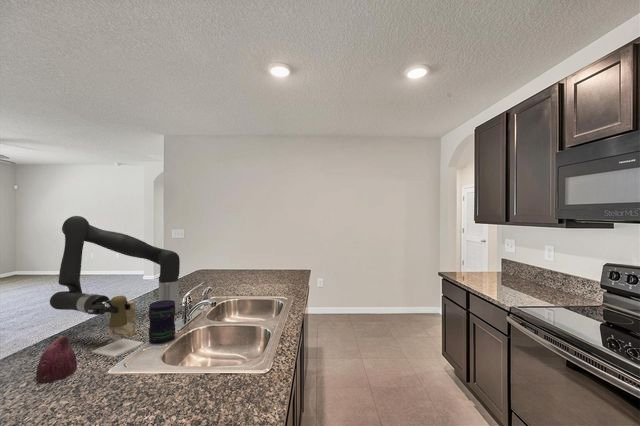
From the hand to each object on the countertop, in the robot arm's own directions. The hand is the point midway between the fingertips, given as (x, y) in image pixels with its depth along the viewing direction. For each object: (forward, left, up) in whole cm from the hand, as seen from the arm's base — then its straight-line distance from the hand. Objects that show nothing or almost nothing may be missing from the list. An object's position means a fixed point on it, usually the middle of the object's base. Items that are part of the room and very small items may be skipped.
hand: (123, 308), depth 113 cm
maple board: (-11, -16, -16) cm, 25 cm away
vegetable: (+20, -4, -16) cm, 26 cm away
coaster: (0, -3, -16) cm, 16 cm away
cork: (0, -3, -7) cm, 7 cm away
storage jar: (-12, +6, -16) cm, 21 cm away
